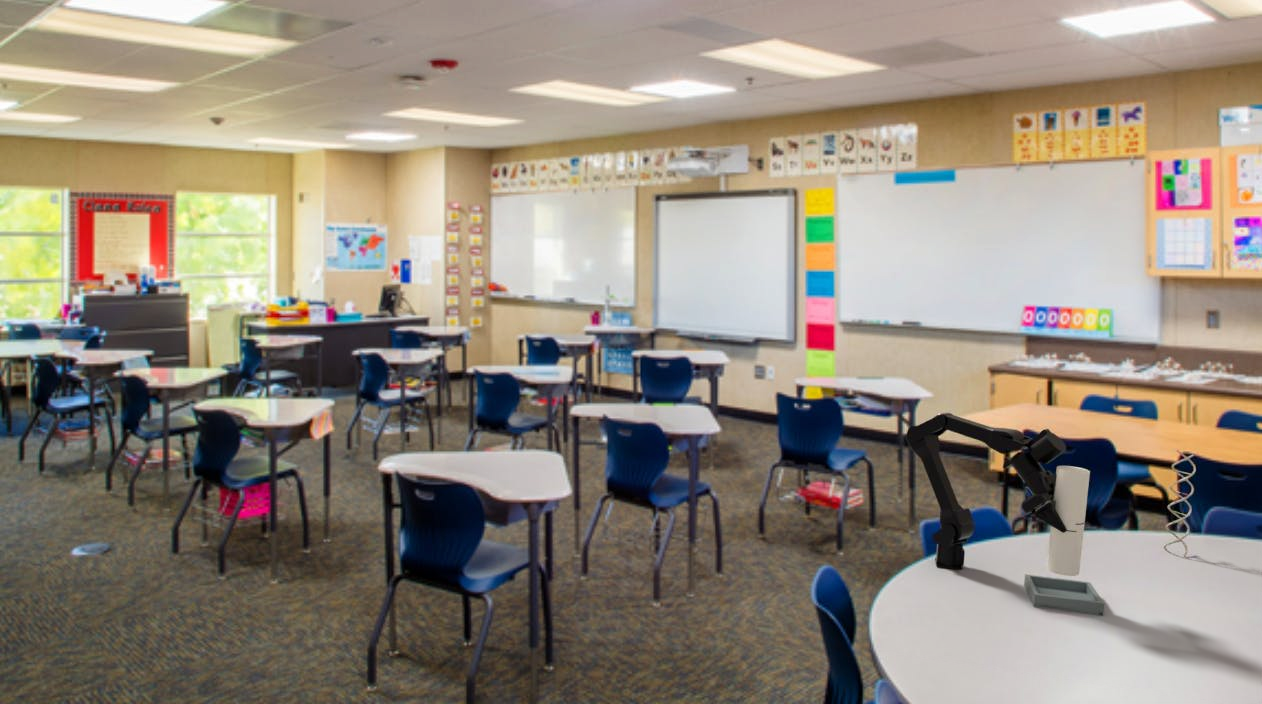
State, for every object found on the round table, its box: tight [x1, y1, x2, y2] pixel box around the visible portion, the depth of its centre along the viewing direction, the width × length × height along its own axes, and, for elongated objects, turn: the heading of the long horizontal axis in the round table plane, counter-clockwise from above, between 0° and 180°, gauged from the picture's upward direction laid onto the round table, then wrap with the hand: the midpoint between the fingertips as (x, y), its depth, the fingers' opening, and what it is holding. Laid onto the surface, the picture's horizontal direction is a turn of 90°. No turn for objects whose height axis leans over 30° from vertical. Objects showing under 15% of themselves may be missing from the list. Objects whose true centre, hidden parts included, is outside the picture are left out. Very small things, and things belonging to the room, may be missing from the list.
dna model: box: [1163, 449, 1197, 557], centre depth 256 cm, size 7×6×30 cm
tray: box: [1023, 573, 1105, 617], centre depth 216 cm, size 15×15×3 cm
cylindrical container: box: [1046, 465, 1091, 577], centre depth 213 cm, size 7×7×25 cm
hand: (1072, 529), depth 212 cm, fingers closed on cylindrical container, 7 cm apart
